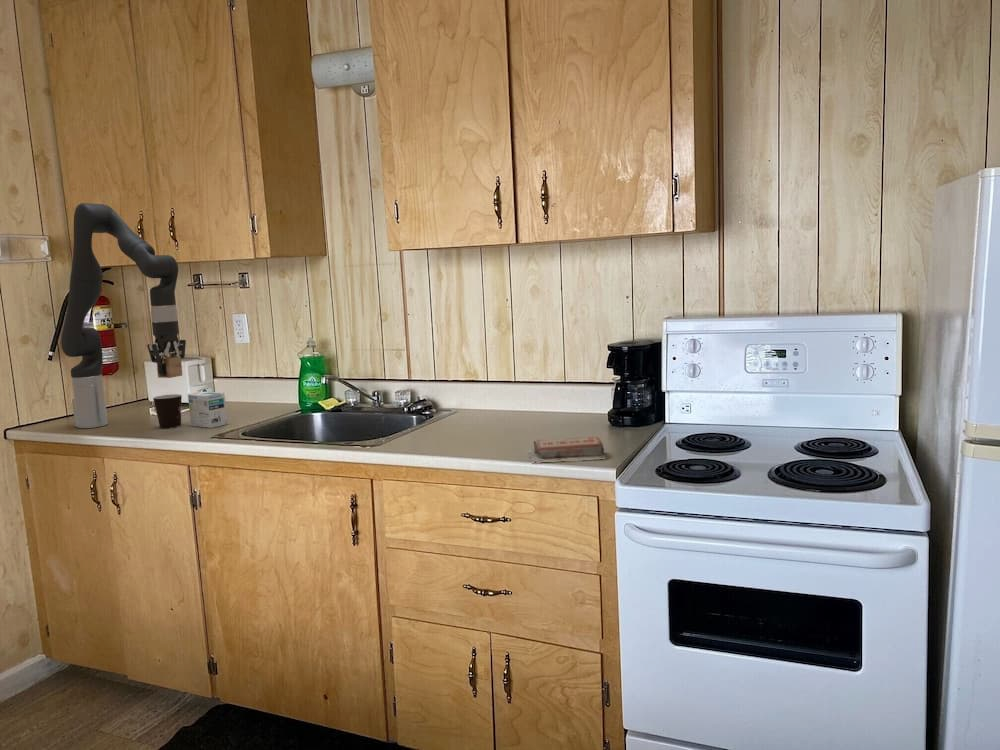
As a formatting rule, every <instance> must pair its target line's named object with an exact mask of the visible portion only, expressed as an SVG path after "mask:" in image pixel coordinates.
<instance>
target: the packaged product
mask: <svg viewBox="0 0 1000 750" xmlns="http://www.w3.org/2000/svg"><path fill="white" fill-rule="evenodd" d="M533 446H534V447H533V448H531V449H528V455H529V454H530V456H529V458H530V457H531V460H532V461H542V460H543V461H544V460H561V459H568V458H574V457H575V458H578V459H580V458H582V459H583V458H606V459H607V457H606V455H605V448H604V443H603V442H602V440H601V439H600V437H599V436H588V437H565V438H563V437H562V438H561V437H560V438H541V439H535V440H534V441H533ZM575 458H574V459H575Z"/></svg>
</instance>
